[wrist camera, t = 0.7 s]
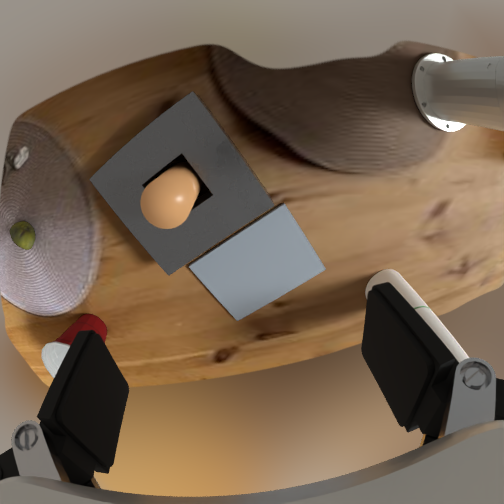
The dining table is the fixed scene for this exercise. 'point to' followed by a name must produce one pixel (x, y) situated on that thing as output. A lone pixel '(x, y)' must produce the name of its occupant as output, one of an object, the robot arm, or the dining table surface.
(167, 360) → the dining table surface
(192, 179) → the orange rounded cylinder
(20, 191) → the dining table surface
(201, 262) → the mat
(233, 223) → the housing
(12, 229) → the lime
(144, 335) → the dining table surface
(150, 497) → the robot arm
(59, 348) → the plastic cup
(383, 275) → the cylindrical container
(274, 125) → the dining table surface
